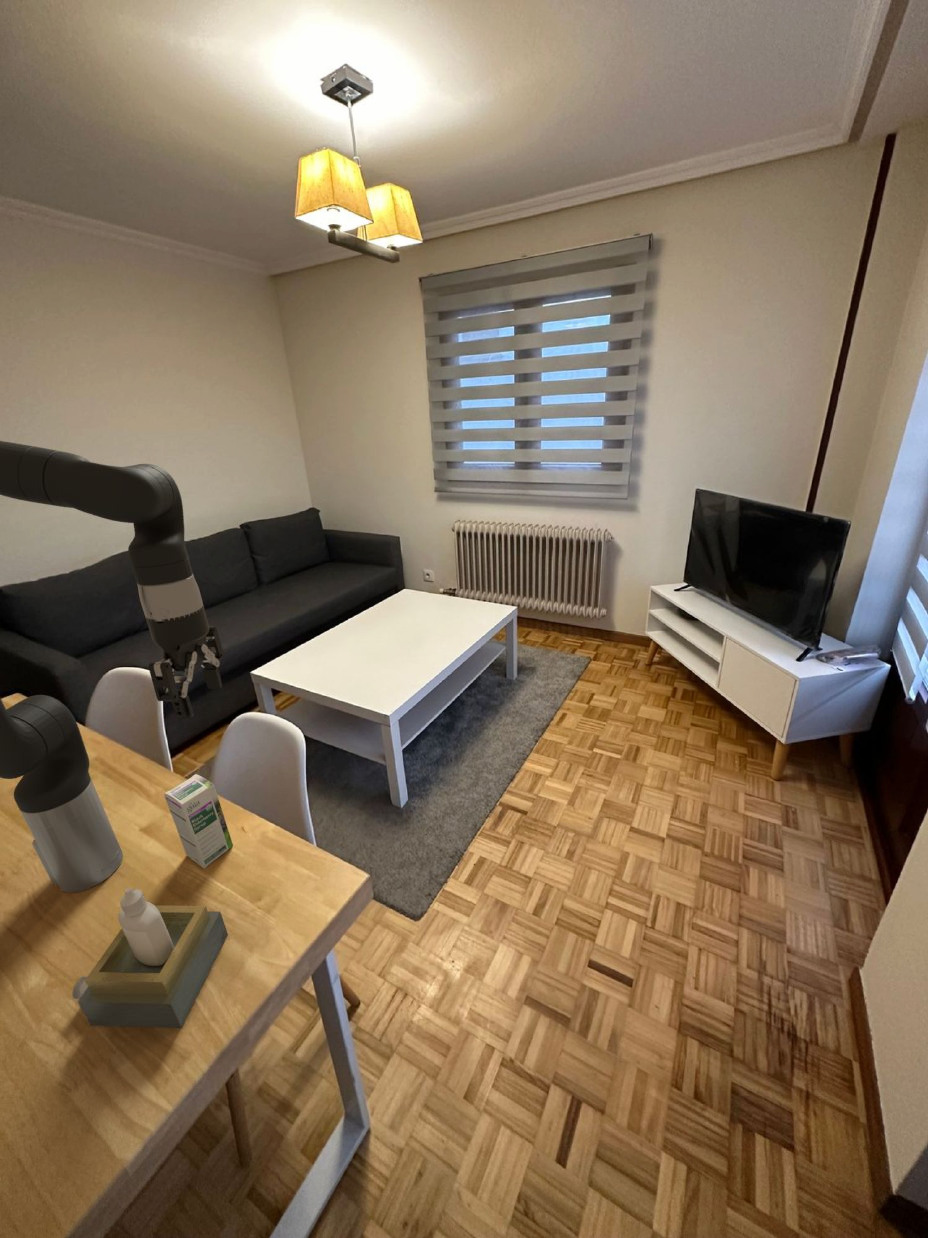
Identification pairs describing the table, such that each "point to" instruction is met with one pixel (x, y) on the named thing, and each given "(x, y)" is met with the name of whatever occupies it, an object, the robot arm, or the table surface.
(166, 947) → the eye dropper bottle
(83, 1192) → the table surface
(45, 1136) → the table surface
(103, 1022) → the grey gold open box
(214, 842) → the syrup box
